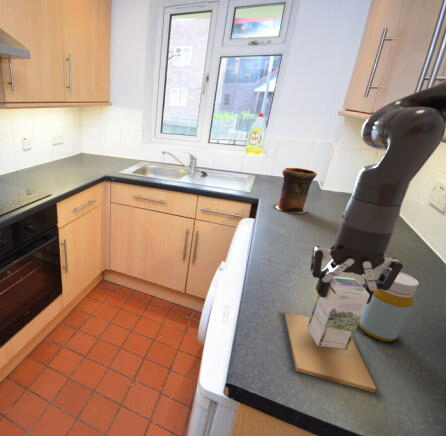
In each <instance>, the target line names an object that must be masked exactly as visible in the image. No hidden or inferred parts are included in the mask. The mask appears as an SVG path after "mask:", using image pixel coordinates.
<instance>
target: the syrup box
mask: <svg viewBox="0 0 446 436" xmlns="http://www.w3.org/2000/svg"><path fill="white" fill-rule="evenodd" d="M369 296H370V295H369V293H368V292H367V291H366V290H365V288H364V287H363V286H362V284H361V283H360V282H359V281H358V280H357V279H356V278H354V277H347V276H345V277H344V276H334V277H333V278H332V279H331V280H330V281H329V286H328V289H327V292H326V295H325V297H324V298H323V297H320V296H319V294H318V293H317V296H316V300H315V302H314V305H313V309H312V312H311V314H310V320H309V323H308V326H307V328H308V330H309V332H310V334H311V336H312V337H313V339H314V341H315V342H316V344H317V346H318V347H325V348H333V349H340V350H347V349H348V347H349V344H350V342H351V339H353V337H354V335H355V332H356V329H357V328H358V325H359V321H360V318H361V316H362V313H363V311H364V308H365V306H366V303H367V301H368V298H369Z"/></svg>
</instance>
